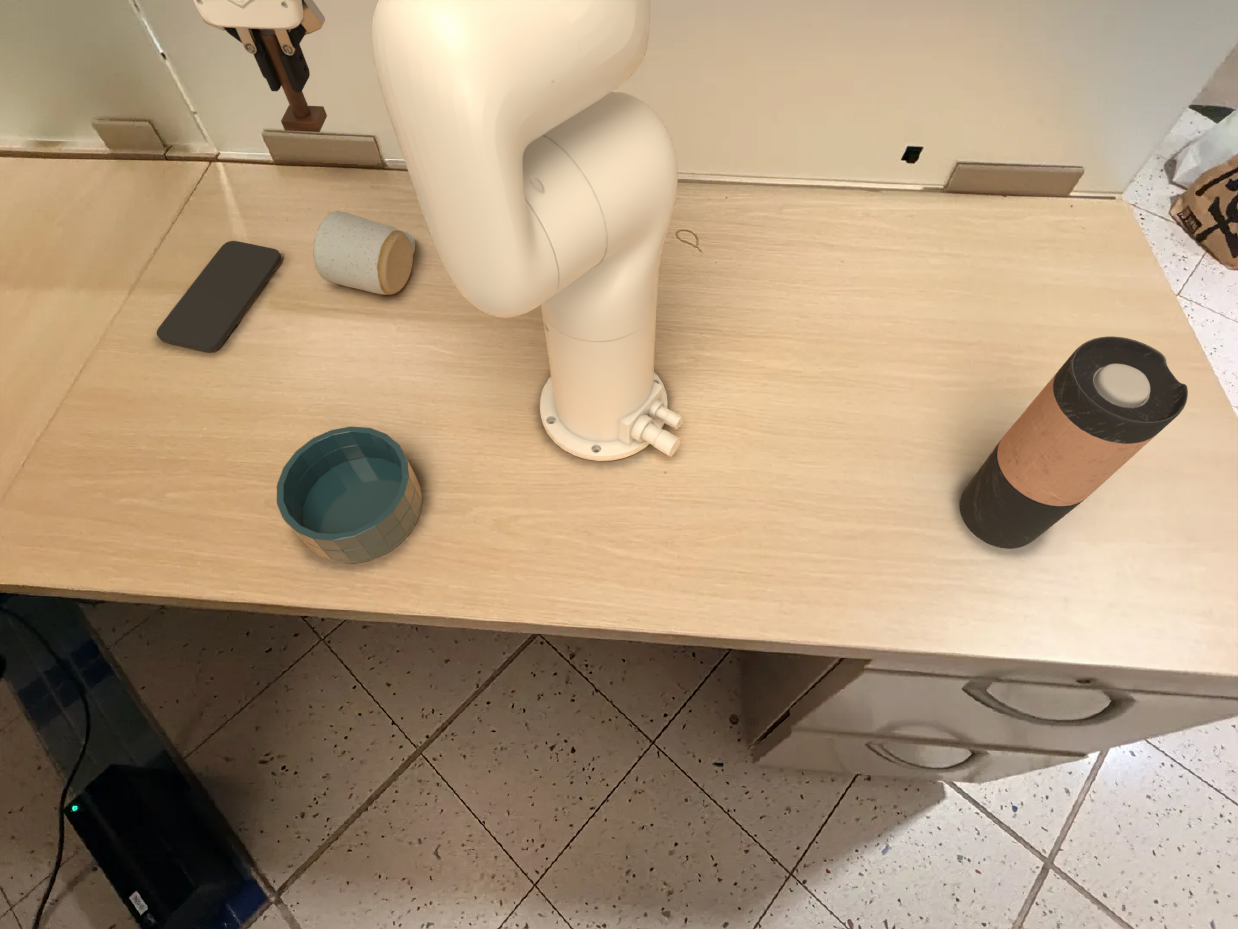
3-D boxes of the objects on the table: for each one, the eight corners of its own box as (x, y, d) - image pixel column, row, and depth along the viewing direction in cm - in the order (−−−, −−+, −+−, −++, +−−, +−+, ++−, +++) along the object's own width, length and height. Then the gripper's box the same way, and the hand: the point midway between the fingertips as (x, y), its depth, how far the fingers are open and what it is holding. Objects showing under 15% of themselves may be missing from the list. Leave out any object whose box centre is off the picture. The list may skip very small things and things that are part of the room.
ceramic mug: (394, 311, 79) (374, 257, 73) (327, 296, 81) (301, 241, 74) (435, 246, 85) (419, 190, 78) (371, 233, 86) (350, 177, 80)
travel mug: (943, 524, 66) (1054, 390, 49) (973, 463, 69) (1087, 318, 52) (1027, 567, 64) (1175, 444, 46) (1054, 502, 67) (1202, 364, 50)
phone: (151, 335, 77) (226, 238, 84) (155, 341, 78) (229, 244, 85) (212, 350, 76) (283, 250, 83) (216, 355, 77) (286, 255, 84)
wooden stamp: (327, 115, 83) (292, 23, 74) (319, 132, 82) (283, 40, 73) (293, 114, 83) (253, 22, 74) (284, 130, 82) (243, 38, 73)
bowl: (434, 460, 70) (421, 431, 66) (406, 568, 64) (390, 544, 60) (320, 451, 70) (300, 422, 66) (282, 558, 65) (257, 534, 60)
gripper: (98, -104, 61) (206, 102, 77) (282, -98, 60) (353, 108, 76) (136, -143, 65) (231, 61, 81) (309, -138, 64) (371, 67, 80)
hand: (290, 83), depth 78 cm, fingers closed on wooden stamp
